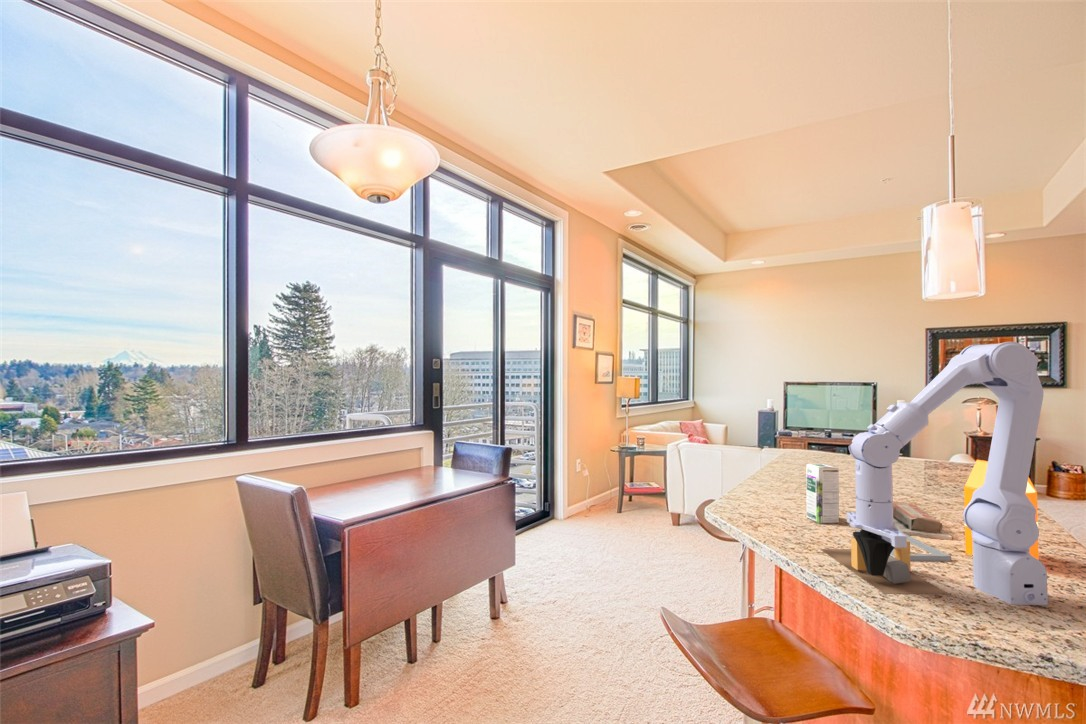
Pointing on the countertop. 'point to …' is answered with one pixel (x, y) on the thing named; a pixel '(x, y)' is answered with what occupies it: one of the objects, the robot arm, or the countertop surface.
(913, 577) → the board
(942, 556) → the tray
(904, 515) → the packaged product
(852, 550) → the yellow bridge block
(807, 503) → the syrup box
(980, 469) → the orange juice
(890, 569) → the white cylinder grey cap
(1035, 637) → the countertop surface
